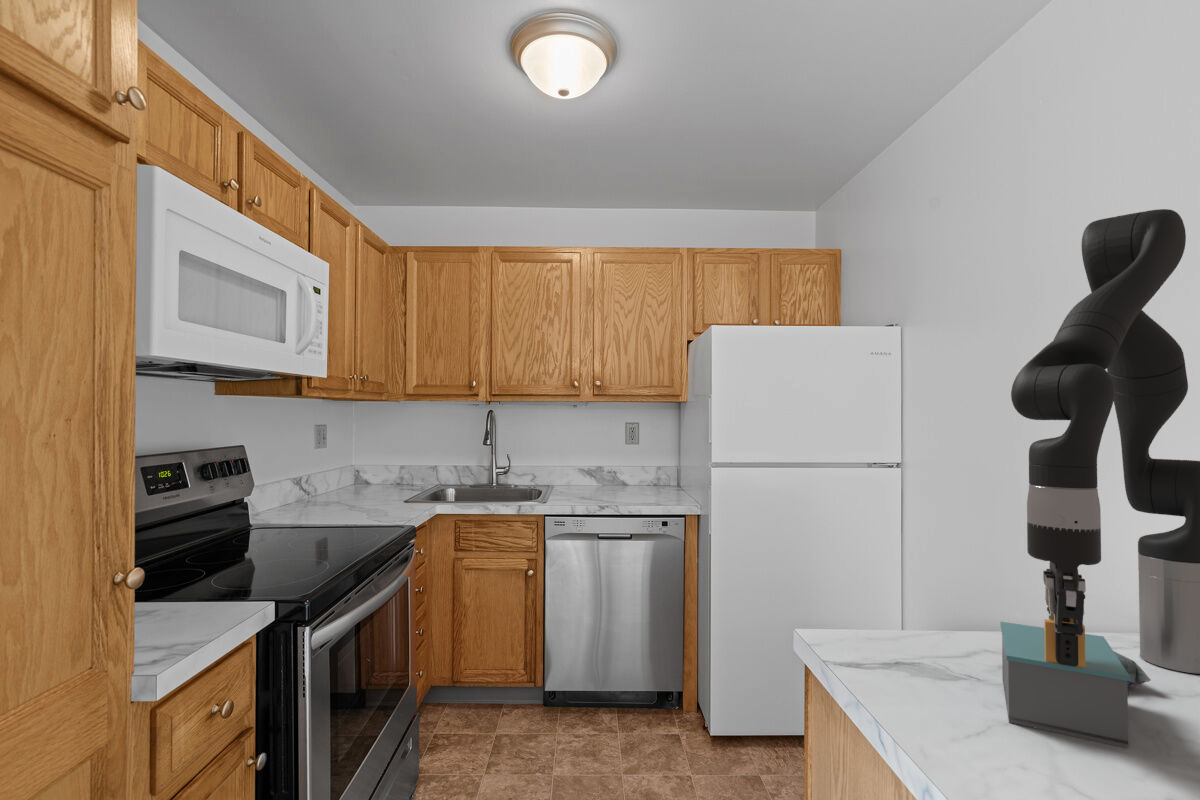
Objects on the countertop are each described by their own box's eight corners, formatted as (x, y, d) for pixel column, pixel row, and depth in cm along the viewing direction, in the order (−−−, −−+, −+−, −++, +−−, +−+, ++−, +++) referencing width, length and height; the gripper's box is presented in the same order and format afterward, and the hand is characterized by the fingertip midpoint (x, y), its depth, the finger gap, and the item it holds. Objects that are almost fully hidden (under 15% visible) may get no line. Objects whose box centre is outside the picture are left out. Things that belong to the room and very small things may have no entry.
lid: (1000, 630, 95) (1000, 588, 95) (1103, 646, 89) (1103, 601, 89) (1006, 666, 81) (1006, 616, 81) (1129, 687, 75) (1128, 633, 75)
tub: (1002, 679, 95) (1002, 626, 95) (1103, 697, 89) (1102, 640, 89) (1008, 722, 81) (1008, 659, 81) (1128, 747, 75) (1127, 680, 75)
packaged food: (1090, 694, 90) (1090, 659, 90) (1036, 662, 102) (1036, 632, 102) (1153, 696, 90) (1153, 662, 90) (1091, 665, 102) (1091, 634, 102)
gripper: (1111, 533, 71) (1114, 686, 71) (1090, 517, 83) (1092, 648, 83) (1032, 526, 75) (1033, 672, 74) (1022, 512, 87) (1024, 637, 87)
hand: (1064, 658), depth 79 cm, fingers open, 3 cm apart
